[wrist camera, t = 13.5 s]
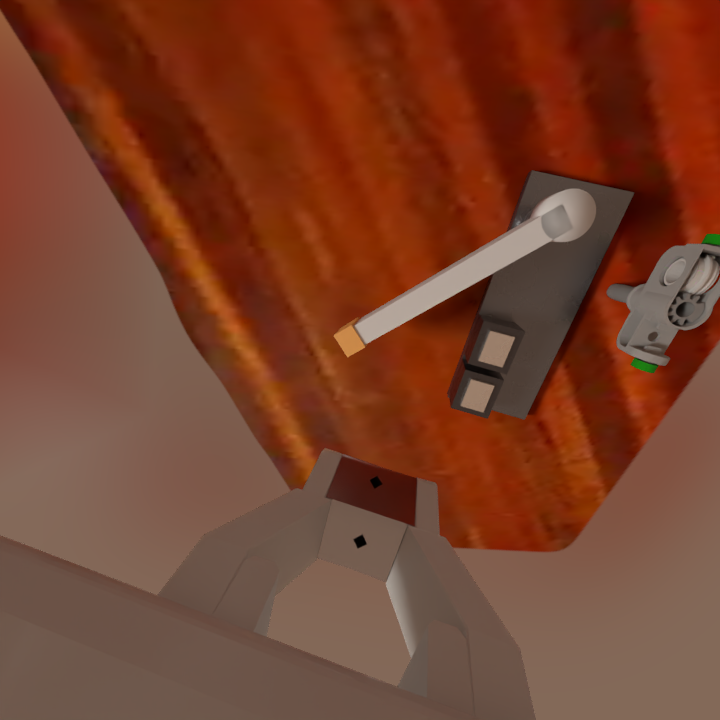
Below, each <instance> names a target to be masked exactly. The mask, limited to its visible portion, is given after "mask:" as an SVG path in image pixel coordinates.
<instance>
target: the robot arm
mask: <svg viewBox="0 0 720 720" xmlns="http://www.w3.org/2000/svg"><path fill="white" fill-rule="evenodd" d="M317 558H319V559H322V560H325V561H328V562H331V563H334V564H338V565H341V566H344V567H347V568H350V569H353V570H355V571H358V572H361V573H364V574H366V575H369V576H371V577H374V578H376V579H379V580H382V581H384V582H386V586H387V589H388V592H389V595H390V598H391V601H392V603H393V607H394V610H395V612H396V615H397V618H398V621H399V624H400V627H401V630H402V633H403V636H404V638H405V641H406V645H407V647H408V650H409V653H410V656H411V660H410V662H409V664H408V666H407V668H406V670H405V672H404V674H403V676H402V678H401V680H400V683H399V684H398V686H394V685H391V684H389V683H386V682H384V681H381V680H378V679H376V678H373V677H370V676H368V675H365V674H363V673H360V672H357V671H355V670H352V669H349V668H347V667H344V666H342V665H339V664H336V663H334V662H331V661H328V660H326V659H323V658H321V657H318V656H315V655H312V654H310V653H308V652H305V651H302V650H300V649H297V648H294V647H292V646H289V645H287V644H284V643H281V642H279V641H276V640H273V639H271V638H268V637H267V632H268V627H269V622H270V617H271V611H272V607H273V602H274V597H275V596H276V595H277V594H278V593H279V592H280V591H282V590H283V589H284V588H285V587H286V586H287V585H288V584H290V583H291V582H292V581H293V580H294V579H295V578H296V577H298V575H300V574H301V573H302V572H303V571H305V570H306V569H307V568H308V567H309V566H310V565H311V564H312V563H314V562H315V561H316V559H317ZM0 720H536V718H535V714H534V709H533V705H532V700H531V696H530V691H529V687H528V683H527V678H526V674H525V669H524V665H523V660H522V656H521V651H520V648H519V647H518V645H517V644H516V642H515V640H514V639H513V637H512V636H511V634H510V633H509V631H508V630H507V628H506V627H505V625H504V624H503V623H502V621H501V619H500V618H499V616H498V615H497V613H496V612H495V611H494V609H493V608H492V606H491V605H490V603H489V602H488V600H487V599H486V597H485V596H484V594H483V593H482V591H481V590H480V588H479V587H478V585H477V584H476V582H475V581H474V579H473V578H472V576H471V575H470V573H469V572H468V570H467V569H466V567H465V566H464V564H463V563H462V561H461V560H460V558H459V557H458V555H457V554H456V552H455V551H454V549H453V548H452V546H451V545H450V543H449V542H448V540H447V539H446V538H445V537H442V536H439V514H438V491H437V485H436V483H434V482H431V481H427V480H424V479H420V478H415V477H411V476H408V475H405V474H402V473H399V472H395V471H392V470H389V469H386V468H383V467H379V466H377V465H374V464H371V463H368V462H365V461H363V460H360V459H357V458H354V457H351V456H348V455H345V454H342V453H339V452H335V451H332V450H329V449H326V448H325V449H324V450H322V452H321V454H320V456H319V458H318V460H317V462H316V464H315V466H314V468H313V470H312V472H311V474H310V476H309V478H308V480H307V482H306V484H305V486H304V488H303V490H301V489H298V488H296V489H294V490H292V491H290V492H288V493H286V494H284V495H282V496H280V497H278V498H276V499H274V500H272V501H270V502H268V503H266V504H264V505H262V506H260V507H258V508H256V509H254V510H252V511H250V512H248V513H246V514H244V515H242V516H240V517H238V518H236V519H235V520H232V521H230V522H228V523H226V524H224V525H222V526H220V527H218V528H216V529H214V530H212V531H210V532H208V533H206V534H204V535H203V536H202V538H201V539H200V540H199V542H198V543H197V544H196V546H195V547H194V548H193V550H192V551H191V552H190V553H189V555H188V556H187V557H186V559H185V560H184V561H183V563H182V564H181V565H180V566H179V568H178V569H177V570H176V572H175V573H174V574H173V576H172V577H171V578H170V579H169V581H168V582H167V583H166V585H165V586H164V587H163V589H162V590H161V591H160V592H159V594H158V595H156V594H153V593H151V592H148V591H145V590H142V589H140V588H137V587H135V586H132V585H129V584H127V583H124V582H122V581H119V580H117V579H114V578H111V577H109V576H106V575H103V574H101V573H98V572H96V571H93V570H90V569H88V568H85V567H83V566H80V565H77V564H74V563H72V562H69V561H67V560H64V559H62V558H59V557H56V556H54V555H51V554H48V553H46V552H43V551H41V550H38V549H35V548H33V547H30V546H28V545H25V544H22V543H20V542H17V541H14V540H12V539H9V538H7V537H4V536H1V535H0Z"/></svg>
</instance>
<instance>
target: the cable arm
mask: <svg viewBox="0 0 720 720" xmlns="http://www.w3.org/2000/svg"><path fill="white" fill-rule="evenodd" d="M595 215H596V204H595V201H594V199H593V198H592V196H591V195H590V194H589V193H587V192H586V191H584V190H581V189H567V190H564V191H561V192H558V193H556V194H553V195H550V196H548V197H546V198H544V199H543V200H541V201H540V202H539V203H538V204H537V205H536V206H535V208H534V210H533V211H532V214H531V217H530V219H528V220H526V221H525V222H523V223H521V224H520V225H518V226H516V227H515V228H513V229H511V230H509V231H508V232H506V233H504V234H503V235H501V236H499V237H498V238H496V239H494V240H493V241H491V242H489V243H488V244H486V245H484V246H482V247H481V248H479V249H477V250H476V251H474V252H472V253H471V254H469V255H467V256H466V257H464V258H462V259H460V260H459V261H457V262H455V263H454V264H452V265H450V266H449V267H447V268H445V269H444V270H442V271H440V272H438V273H437V274H435V275H433V276H432V277H430V278H428V279H427V280H425V281H423V282H422V283H420V284H418V285H416V286H415V287H413V288H411V289H410V290H408V291H406V292H405V293H403V294H401V295H400V296H398V297H396V298H394V299H393V300H391V301H389V302H388V303H386V304H384V305H383V306H381V307H379V308H378V309H376V310H374V311H372V312H371V313H369V314H367V315H366V316H364V317H362V318H361V319H359V317H358V318H356V319H355V320H353V321H351V322H350V323H348V324H346V325H345V326H343V327H342V328H341V329H340V330H339V331H338V332H337V333H336V334H335V335H334V337H335V339H336V340H337V342H338V343H339V345H340V346H341V348H342V349H343V351H344V353H345V354H346V356H347V357H349V356H350V355H352V354H354V353H356V352H358V351H359V350H361V349H363V348H365V347H366V345H367V343H369V342H371V341H372V340H374V339H376V338H378V337H380V336H381V335H383V334H385V333H387V332H388V331H390V330H392V329H394V328H396V327H397V326H399V325H401V324H403V323H405V322H406V321H408V320H410V319H412V318H414V317H415V316H417V315H419V314H421V313H423V312H424V311H426V310H428V309H430V308H432V307H433V306H435V305H437V304H439V303H441V302H442V301H444V300H446V299H448V298H450V297H451V296H453V295H455V294H457V293H458V292H460V291H462V290H464V289H466V288H467V287H469V286H471V285H473V284H475V283H476V282H478V281H480V280H482V279H484V278H485V277H487V276H489V275H491V274H493V273H494V272H496V271H498V270H500V269H502V268H503V267H505V266H507V265H509V264H511V263H512V262H514V261H516V260H518V259H520V258H521V257H523V256H525V255H527V254H529V253H530V252H532V251H534V250H536V249H537V248H539V247H541V246H543V245H545V244H546V243H548V242H568V241H572V240H575V239H577V238H579V237H581V236H582V235H583V234H585V233H586V232H587V231H588V229H589V228H590V227H591V225H592V223H593V222H594V219H595Z"/></svg>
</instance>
